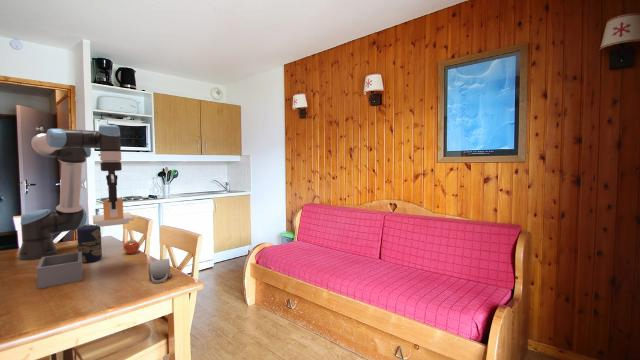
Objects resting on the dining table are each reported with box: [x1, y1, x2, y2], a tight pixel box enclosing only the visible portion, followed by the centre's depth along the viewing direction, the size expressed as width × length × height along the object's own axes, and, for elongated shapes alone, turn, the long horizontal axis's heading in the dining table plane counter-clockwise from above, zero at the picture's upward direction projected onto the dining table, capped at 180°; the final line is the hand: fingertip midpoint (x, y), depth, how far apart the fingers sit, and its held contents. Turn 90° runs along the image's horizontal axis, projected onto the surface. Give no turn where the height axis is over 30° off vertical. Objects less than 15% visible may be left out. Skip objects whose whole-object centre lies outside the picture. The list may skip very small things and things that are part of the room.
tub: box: [35, 251, 84, 289], centre depth 137 cm, size 18×14×8 cm
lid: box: [92, 198, 134, 228], centre depth 146 cm, size 19×15×11 cm
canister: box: [76, 223, 103, 263], centre depth 160 cm, size 10×10×18 cm
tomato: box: [123, 237, 140, 255], centre depth 172 cm, size 7×7×8 cm
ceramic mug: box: [147, 257, 171, 284], centre depth 135 cm, size 11×8×8 cm
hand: (113, 216), depth 140 cm, fingers closed on lid, 2 cm apart
